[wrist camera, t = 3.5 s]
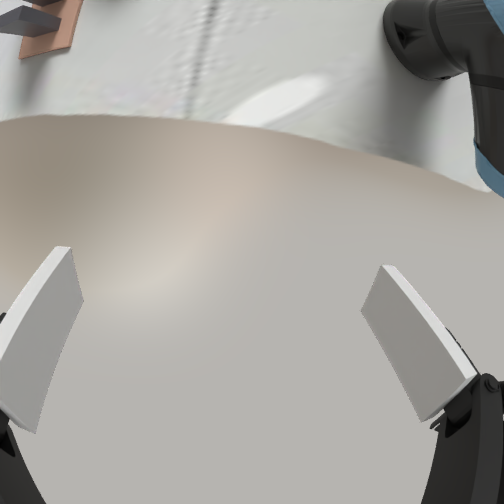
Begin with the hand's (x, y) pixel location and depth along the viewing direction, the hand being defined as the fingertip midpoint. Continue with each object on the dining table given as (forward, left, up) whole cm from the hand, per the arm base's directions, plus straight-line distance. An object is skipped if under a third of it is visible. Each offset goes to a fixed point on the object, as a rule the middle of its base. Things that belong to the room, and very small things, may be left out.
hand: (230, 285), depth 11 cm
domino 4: (-11, -33, -26) cm, 43 cm away
